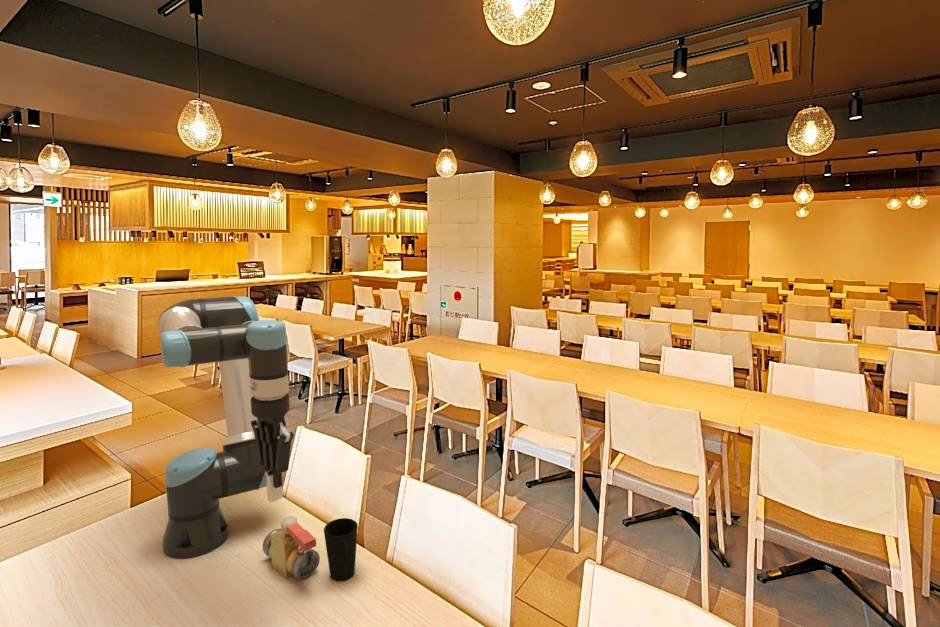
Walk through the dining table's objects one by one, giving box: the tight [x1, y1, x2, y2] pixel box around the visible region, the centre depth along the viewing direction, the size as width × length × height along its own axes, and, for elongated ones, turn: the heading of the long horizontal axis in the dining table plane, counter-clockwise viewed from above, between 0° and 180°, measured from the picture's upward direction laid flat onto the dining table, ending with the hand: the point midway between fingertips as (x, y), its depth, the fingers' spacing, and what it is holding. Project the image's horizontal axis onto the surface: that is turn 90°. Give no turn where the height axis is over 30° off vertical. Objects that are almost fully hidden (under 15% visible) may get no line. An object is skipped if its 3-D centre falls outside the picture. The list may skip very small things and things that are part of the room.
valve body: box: [262, 528, 321, 581], centre depth 123 cm, size 14×7×10 cm, turn 51°
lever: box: [280, 515, 317, 551], centre depth 119 cm, size 13×4×2 cm, turn 43°
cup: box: [323, 517, 359, 583], centre depth 120 cm, size 8×8×12 cm
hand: (275, 498), depth 111 cm, fingers closed
